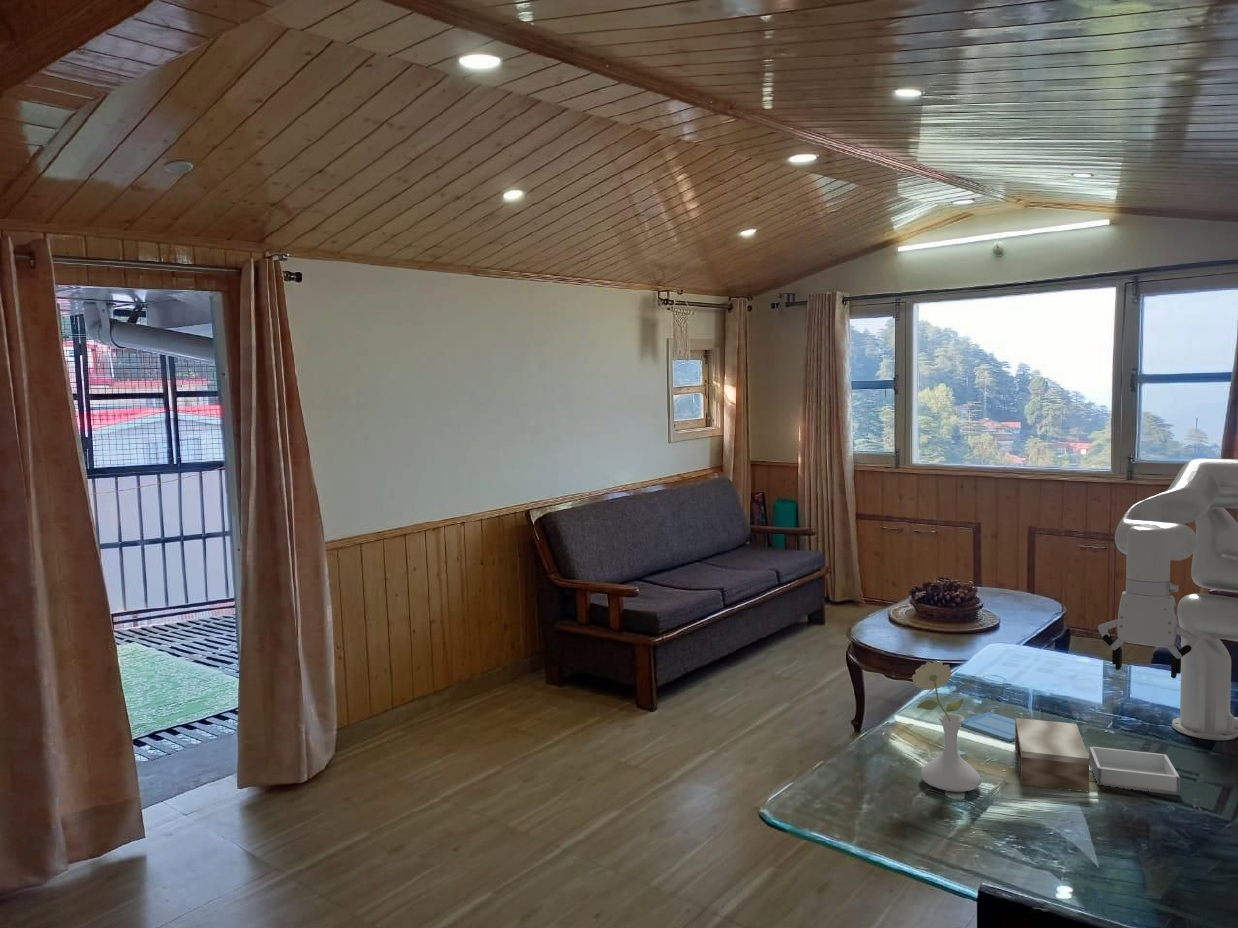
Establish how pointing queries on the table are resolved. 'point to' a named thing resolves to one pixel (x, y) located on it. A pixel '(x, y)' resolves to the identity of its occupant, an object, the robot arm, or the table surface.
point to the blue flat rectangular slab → (992, 725)
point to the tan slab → (1051, 754)
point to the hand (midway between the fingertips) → (1145, 672)
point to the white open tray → (1134, 770)
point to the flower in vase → (949, 765)
